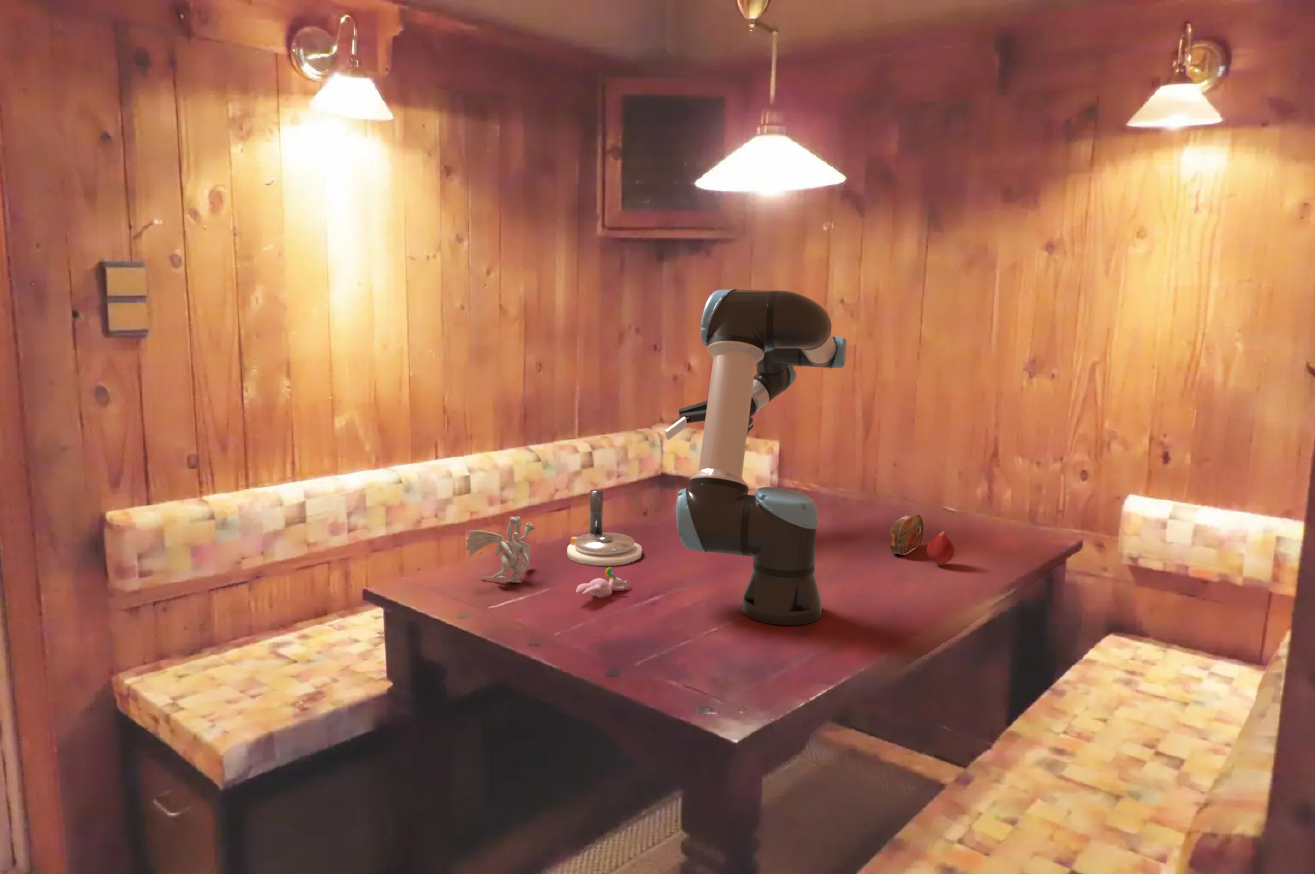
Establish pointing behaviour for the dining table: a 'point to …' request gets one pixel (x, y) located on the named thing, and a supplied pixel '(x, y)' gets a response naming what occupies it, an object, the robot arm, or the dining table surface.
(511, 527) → the grey dragon figurine
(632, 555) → the dial base
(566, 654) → the dining table surface
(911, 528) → the tin
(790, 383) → the robot arm
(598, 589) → the rabbit figure
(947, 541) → the onion
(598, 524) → the dial
